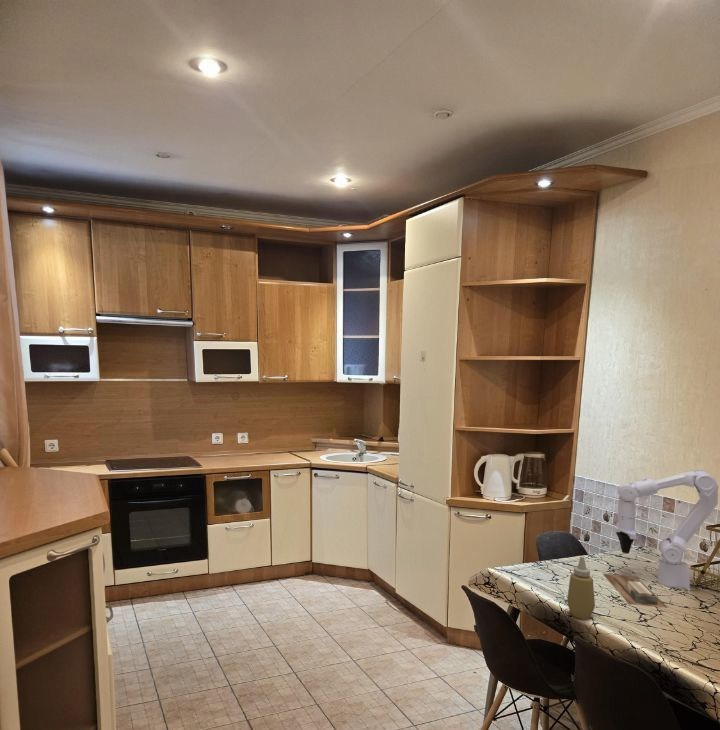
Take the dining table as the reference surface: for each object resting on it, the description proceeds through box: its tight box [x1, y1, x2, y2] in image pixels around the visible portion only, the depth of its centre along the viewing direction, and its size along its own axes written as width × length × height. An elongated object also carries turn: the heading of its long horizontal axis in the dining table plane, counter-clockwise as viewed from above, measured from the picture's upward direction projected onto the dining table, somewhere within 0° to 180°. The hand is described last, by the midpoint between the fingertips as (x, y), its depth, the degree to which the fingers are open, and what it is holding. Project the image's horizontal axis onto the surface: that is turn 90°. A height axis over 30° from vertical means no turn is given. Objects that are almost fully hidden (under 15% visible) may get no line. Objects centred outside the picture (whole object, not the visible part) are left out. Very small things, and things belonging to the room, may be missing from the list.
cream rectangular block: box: [628, 581, 652, 596], centre depth 173 cm, size 4×10×3 cm, turn 172°
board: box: [602, 573, 669, 608], centre depth 179 cm, size 12×26×3 cm, turn 172°
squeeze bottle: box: [566, 556, 596, 620], centre depth 159 cm, size 8×8×18 cm
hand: (625, 552), depth 192 cm, fingers closed
